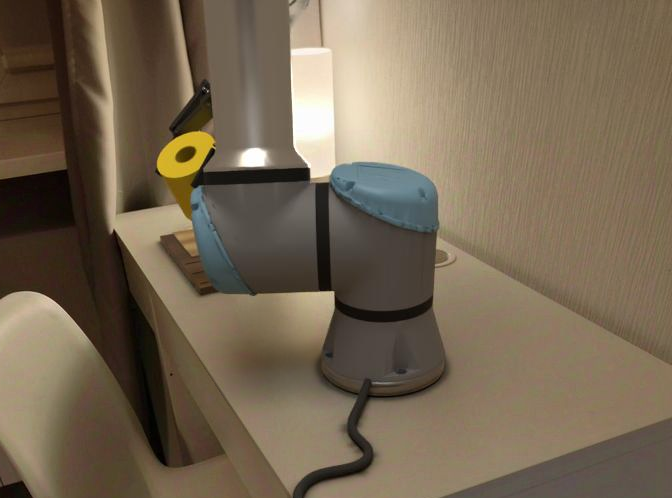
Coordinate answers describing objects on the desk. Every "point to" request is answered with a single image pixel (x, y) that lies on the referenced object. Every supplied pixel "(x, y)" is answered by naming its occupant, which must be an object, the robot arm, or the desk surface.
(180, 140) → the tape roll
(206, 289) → the board
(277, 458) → the desk surface
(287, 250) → the robot arm
